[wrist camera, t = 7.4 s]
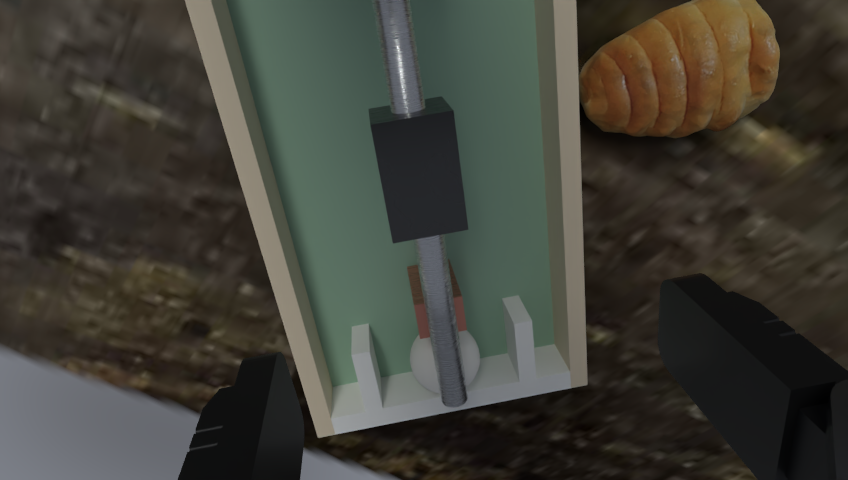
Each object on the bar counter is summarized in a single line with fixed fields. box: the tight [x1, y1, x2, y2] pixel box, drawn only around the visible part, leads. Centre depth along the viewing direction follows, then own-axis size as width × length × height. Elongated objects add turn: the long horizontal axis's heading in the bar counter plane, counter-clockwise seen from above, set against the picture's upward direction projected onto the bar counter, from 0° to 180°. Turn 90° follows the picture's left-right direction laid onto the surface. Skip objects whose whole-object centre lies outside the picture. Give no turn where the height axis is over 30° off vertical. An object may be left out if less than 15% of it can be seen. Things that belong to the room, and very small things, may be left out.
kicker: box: [369, 0, 468, 407], centre depth 25 cm, size 24×3×6 cm, turn 8°
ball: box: [410, 330, 480, 394], centre depth 31 cm, size 4×4×4 cm
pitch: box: [185, 0, 587, 438], centre depth 26 cm, size 27×16×8 cm, turn 8°
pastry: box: [578, 0, 780, 138], centre depth 28 cm, size 9×7×4 cm
